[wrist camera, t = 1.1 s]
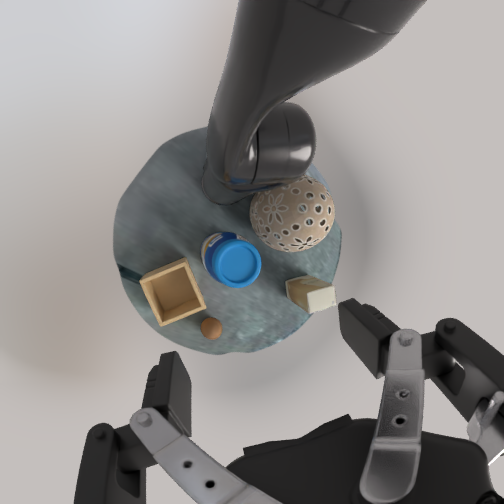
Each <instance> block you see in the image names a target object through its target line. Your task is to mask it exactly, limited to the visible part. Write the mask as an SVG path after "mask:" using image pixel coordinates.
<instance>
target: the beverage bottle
mask: <svg viewBox="0 0 504 504" xmlns="http://www.w3.org/2000/svg"><path fill="white" fill-rule="evenodd" d="M200 256H201V260H202V262H203V264H204V267H205V269H206V271H207V272H208V273H209V275H210V276H211V277H212V278H214V279H215V280H216V281H218V282H220V283H223V284H225V285H227V286H229V287H233V288H241V287H245V286H247V285H249V284H251V283H252V282H253V281H254V280H255V279H256V278H257V277H258V275H259V273H260V270H261V257H260V254H259V252H258V251H257V249H256V248H255V247H254V246H253V245H252V244H250V242H249V241H248V240H247V239H245V238H244V237H242V236H241V235H238V234H235V233H231V232H217V233H213V234H211V235H209V236H208V237H207V238H206V239H205V240H204V241H203V243H202V245H201V248H200Z"/></svg>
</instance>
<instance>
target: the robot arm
mask: <svg viewBox="0 0 504 504" xmlns="http://www.w3.org/2000/svg"><path fill="white" fill-rule="evenodd" d="M426 1H427V0H239V2H238V7H237V12H236V17H235V22H234V27H233V32H232V37H231V41H230V46H229V50H228V54H227V59H226V63H225V66H224V70H223V73H222V76H221V80H220V84H219V86H218V90H217V93H216V97H215V100H214V103H213V107H212V111H211V115H210V119H209V124H208V129H207V138H206V152H207V159H206V162H205V164H204V167H203V170H204V174H203V177H202V189H203V192H204V194H205V195H206V197H207V198H208V199H209V200H210V201H212V202H213V203H215V204H218V205H230V204H233V203H235V202H237V201H240V200H242V199H243V198H245V197H247V196H249V195H251V194H253V193H257V192H264V191H270V190H273V189H276V188H279V187H283V186H286V185H289V184H292V183H294V182H296V181H298V180H299V179H300V178H302V177H303V176H304V174H305V173H306V172H307V170H308V169H309V167H310V165H311V163H312V160H313V158H314V154H315V149H316V133H315V128H314V124H313V122H312V120H311V118H310V116H309V114H308V113H307V112H306V111H305V110H304V109H303V108H302V107H300V106H299V105H297V104H294V103H291V102H285V101H286V100H288V99H290V98H291V97H293V96H295V95H297V94H298V93H300V92H302V91H304V90H306V89H308V88H310V87H312V86H314V85H316V84H318V83H320V82H322V81H324V80H326V79H327V78H330V77H332V76H334V75H336V74H338V73H340V72H342V71H344V70H346V69H348V68H350V67H352V66H354V65H356V64H358V63H359V62H361V61H363V60H365V59H367V58H368V57H370V56H372V55H373V54H375V53H376V52H378V51H379V50H380V49H382V48H383V47H384V46H385V45H387V44H388V43H389V42H390V41H391V40H392V39H393V38H394V37H395V36H396V35H397V34H398V33H399V31H400V30H401V29H402V28H403V27H404V26H405V25H406V23H407V22H408V21H409V20H410V19H411V18H412V17H413V16H414V14H415V13H416V12H417V11H418V10H419V9H420V8H421V6H422V5H423V4H424V3H425V2H426ZM338 310H339V321H340V330H341V334H342V336H343V339H344V340H345V341H346V342H347V344H348V345H349V346H350V347H351V349H352V350H353V351H354V352H355V353H356V355H357V356H358V357H359V358H360V359H361V361H362V362H363V363H364V364H365V366H366V367H367V368H368V369H369V371H370V372H371V373H372V374H373V375H374V377H375V378H376V379H379V378H381V377H383V376H385V381H384V387H383V393H382V399H381V404H380V409H379V414H378V419H371V418H363V419H354V420H352V419H351V417H350V416H349V414H347V415H344V416H342V417H340V418H337V419H335V420H332V421H329V422H327V423H324V424H323V425H321V426H319V427H318V428H316V429H315V430H313V431H311V432H309V433H308V434H306V435H304V436H303V437H301V438H298V439H292V440H281V441H269V442H265V443H262V444H258V445H254V446H249V447H245V448H243V451H244V456H241V457H239V458H238V459H236V460H234V461H233V462H231V463H230V464H229V465H228V466H227V467H224V466H222V465H221V464H220V463H218V462H217V461H216V460H214V459H213V458H212V457H211V456H209V455H208V454H207V453H206V452H205V451H203V450H202V449H201V448H200V447H199V446H197V445H196V444H195V443H194V442H193V441H192V440H190V439H189V438H188V437H191V380H190V377H189V375H188V372H187V370H186V368H185V366H184V364H183V362H182V360H181V358H180V356H179V354H178V353H177V352H176V351H173V352H168V353H164V354H161V356H160V361H159V365H156V366H154V367H153V368H152V370H151V371H150V372H149V375H148V379H147V383H146V389H145V393H144V398H143V403H142V408H141V409H140V410H138V411H137V412H135V413H134V414H133V415H132V417H131V419H130V424H128V425H125V426H123V427H119V428H117V429H113V427H112V426H111V425H109V424H107V423H100V424H97V425H95V426H94V427H92V428H91V429H90V430H89V432H88V434H87V438H86V442H85V446H84V451H83V455H82V460H81V464H80V469H79V474H78V479H77V485H76V491H75V497H74V504H146V468H147V467H150V466H153V465H155V464H159V465H160V466H161V467H162V468H163V469H164V470H165V471H166V473H167V474H168V475H169V476H170V477H171V478H172V479H173V480H174V481H175V482H176V483H177V484H178V485H179V486H180V487H181V488H182V489H183V490H184V491H185V492H186V493H187V494H188V495H189V496H190V497H191V498H192V499H193V500H194V501H195V502H196V503H198V504H504V498H502V497H501V496H499V495H498V494H497V493H496V491H495V490H494V488H493V485H492V482H491V478H490V473H489V465H490V464H491V463H492V462H493V461H494V460H496V458H498V457H499V456H503V455H504V355H502V354H501V353H500V352H499V351H497V350H496V349H495V348H494V347H493V346H491V345H490V344H489V343H488V342H486V341H485V340H484V339H483V338H481V337H480V336H479V335H477V334H476V333H475V332H473V331H472V330H471V329H470V328H468V327H467V326H465V325H464V324H463V323H462V322H460V321H459V320H457V319H454V318H446V319H442V320H440V321H439V322H438V323H437V324H436V329H435V331H433V332H430V333H426V334H422V335H420V334H419V333H418V332H416V331H415V330H412V329H400V328H399V327H398V326H397V325H395V324H394V323H393V322H392V321H391V320H389V319H388V318H387V317H385V315H383V314H382V313H380V311H379V310H377V309H376V308H375V307H373V306H371V305H368V304H363V305H361V304H360V303H359V302H358V301H356V300H355V299H354V298H351V299H349V300H346V301H343V302H340V303H339V305H338ZM456 361H457V362H459V364H461V365H462V366H463V368H464V369H463V368H461V367H460V366H459V365H458V364H457V363H456ZM429 378H430V379H431V380H432V381H433V382H434V383H435V384H436V386H437V387H438V388H439V389H440V390H441V391H442V392H443V394H444V395H445V396H446V397H447V398H448V399H449V401H450V402H451V403H452V404H453V405H454V406H455V408H456V409H457V410H458V411H459V412H460V414H461V415H462V416H463V417H464V418H465V419H466V421H467V422H468V425H467V433H468V435H469V440H466V439H461V438H454V437H449V436H444V435H439V434H434V433H429V432H425V431H422V420H423V407H424V380H426V379H429Z"/></svg>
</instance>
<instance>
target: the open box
mask: <svg viewBox="0 0 504 504" xmlns="http://www.w3.org/2000/svg"><path fill="white" fill-rule="evenodd" d="M139 282H140V284H141V286H142V289H143V291H144V293H145V295H146V297H147V300H148V302H149V304H150V306H151V308H152V310H153V312H154V314H155V316H156V318H157V320H158V322H159V324H160V326H164V325H166V324H169V323H171V322H174V321H176V320H179V319H181V318H184V317H186V316H189V315H191V314H194V313H196V312H198V311H201V310H203V309H206V305H205V302H204V299H203V296H202V294H201V291H200V289H199V287H198V285H197V282H196V280H195V277H194V275H193V273H192V270H191V268H190V265H189V263H188V261H187V258H186V257H184V258H182V259H179V260H177V261H175V262H172V263H170V264H167V265H165V266H163V267H160V268H158V269H155V270H153V271H151V272H148V273H146V274H145V275H144V276H143V277H142V278H141V279H140V281H139Z"/></svg>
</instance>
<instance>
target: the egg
mask: <svg viewBox="0 0 504 504" xmlns="http://www.w3.org/2000/svg"><path fill="white" fill-rule="evenodd" d="M201 332H202V334H203V335H204V336H205V337H206V338H208V339H216V338H218V337H219V336H220V335H221V333H222V325H221V323H220V321H219V320H217V319H216V318H212V317H211V318H207V319H205V320H204V321H203V322H202V324H201Z"/></svg>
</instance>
